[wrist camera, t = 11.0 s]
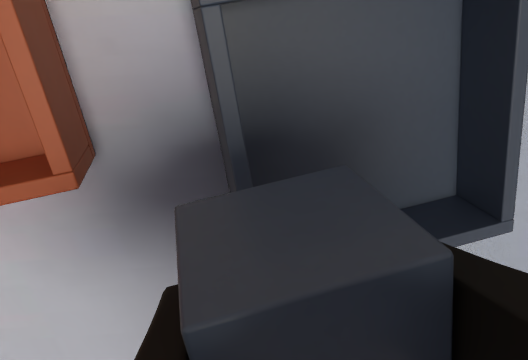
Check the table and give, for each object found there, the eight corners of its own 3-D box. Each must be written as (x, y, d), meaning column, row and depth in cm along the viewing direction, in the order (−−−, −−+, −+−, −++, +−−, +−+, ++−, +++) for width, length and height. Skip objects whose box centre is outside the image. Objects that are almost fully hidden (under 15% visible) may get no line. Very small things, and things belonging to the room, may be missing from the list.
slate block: (358, 300, 13) (452, 437, 8) (212, 343, 12) (237, 513, 8) (345, 163, 11) (456, 252, 7) (173, 205, 10) (179, 331, 6)
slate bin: (459, 198, 21) (513, 231, 18) (242, 254, 19) (258, 301, 16) (469, -54, 16) (542, -71, 13) (188, -10, 15) (195, -17, 12)
